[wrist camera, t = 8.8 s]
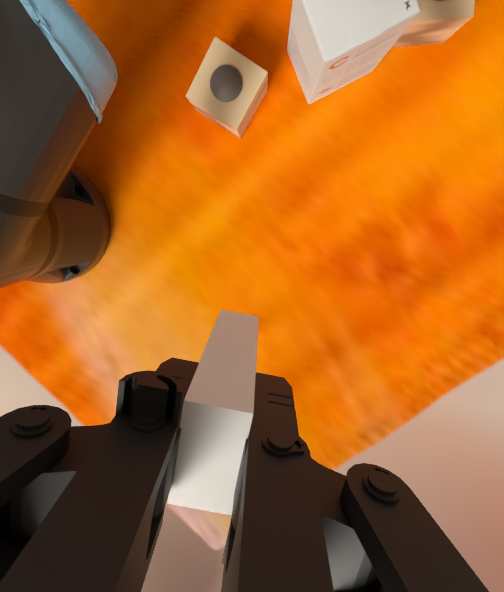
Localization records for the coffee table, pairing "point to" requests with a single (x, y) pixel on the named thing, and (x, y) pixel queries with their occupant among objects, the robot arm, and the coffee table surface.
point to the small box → (343, 39)
